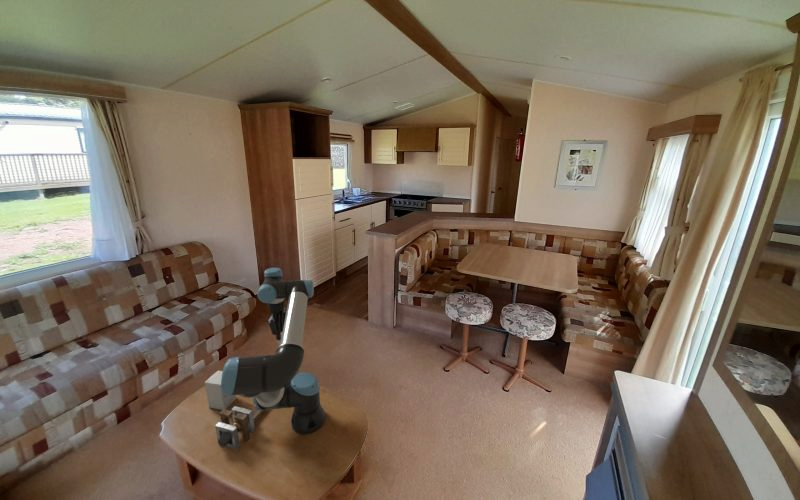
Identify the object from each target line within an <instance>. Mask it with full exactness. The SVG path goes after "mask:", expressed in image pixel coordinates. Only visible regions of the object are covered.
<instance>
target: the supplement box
mask: <svg viewBox="0 0 800 500" xmlns="http://www.w3.org/2000/svg"><path fill="white" fill-rule="evenodd" d="M222 372H223V370H216V372H214V373H213V374H212V375H211V376H209V378H208V379H207V380H205V381H204V387H205V393H206V394H205V395H206V398H207V405H208V408H210V409H216V410H220V411H222V410H223V409H226V410H227V409H228V407H230V406H231V404H233V402H234V401H235V400H236V399H237V396H238V395H232V396H224V395H223V394H222V391H221V378H222Z"/></svg>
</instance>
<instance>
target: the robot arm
mask: <svg viewBox="0 0 800 500" xmlns="http://www.w3.org/2000/svg"><path fill="white" fill-rule="evenodd" d="M263 274H264V276H263V277H264V279H263V283H262V284H261V285H260V286H259V288H258V291H257V298H258V300H259V301H260V302H262V303H264V304H267V308H268V309H267V310H268V311H269V312H270V313H269V314H270V315H269V316H270V317H269V318H268V319H266V322H267V323H268V325H269V328H270V331H271V334H272V335H275V338H276V342H277V343H276V344H277V345H278V346H277V348H276V351H275V353H274V354H265V355H264V354H263V355H252V356H235V357H231V358H228V359H227V360H226V361H225V363H224V366H223V368H222V371H223V372H222V378H221V391H222V394H223V395H224V396H232V395H236V396H241V397H243V398H246V399H247V398H252V400H253V404H254V407H255V408H256V409H257V410H262V411H265V410H266V411H269V410H270V411H272V410H278V409H289V408H293V412H292V416H291V419H290V423H291V429H292V430H293V431H294V432H295V433H296V434H300V435H308V434H313V433H314V432H316V431H318V430H319V429H320V428H322V426H323V425H324V424H325V421H326V413H325V410H324V408H323V406H322V404H321V396H320V384H319V378H318V377H317V376H316V375H315V374H313V373H311V372H299V371H300V369H301V367H302V364H303V362H304V356H305V348H303V341H304V334H305V333H304V332H305V325H306V324H305V323H306V315H307V307H308V299H309V298H312V297H313V296H314V294H315V293H314V292H315V291H314V290H315V288H314V285H315V284H314V282H313V281H312V280H310V279H295V280H284V278H283V276H284V275H283V271H282V269H281V268H279V267H270V268H267V269H265V270H264V273H263ZM285 299H288V301H287V306H286V300H285ZM298 372H299V373H298ZM266 411H265V412H266Z"/></svg>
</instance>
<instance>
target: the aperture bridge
mask: <svg viewBox="0 0 800 500" xmlns="http://www.w3.org/2000/svg"><path fill="white" fill-rule="evenodd" d="M232 415H233V411H232V410H229V409H227V408H226V409H223V410H220V412H219V417H220V420H221V423H225V424H228V425H231V422H230V418H231V417H233V416H232ZM247 418H248V416H247V415H245V414H241V413H238V414H237V415H236V416H235V417H234V419H235V420H237V421H240V424H241V430H240V431H241V434H242V435H241V437H242V441H243V442H245V443H248V442H249V441H250V440H251V433H250V432H249V425H248V419H247ZM223 432H224V431H223ZM224 433H225V432H224Z"/></svg>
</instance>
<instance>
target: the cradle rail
mask: <svg viewBox="0 0 800 500" xmlns="http://www.w3.org/2000/svg"><path fill="white" fill-rule="evenodd" d="M266 411H267V410H265V411H262V410H257V409H256V408H255V406H254V407H253V408H252V413H253V421H254V424H255V423H256V422H257V421H258V420H259V419H260V418H261V417H262V416H263V414H264V413H265V412H266Z"/></svg>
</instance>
